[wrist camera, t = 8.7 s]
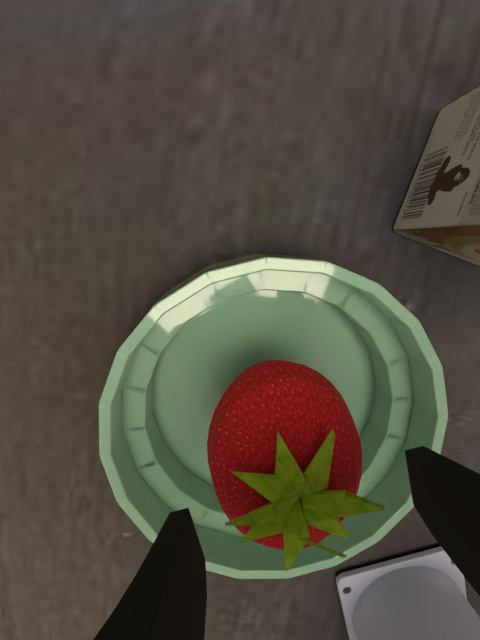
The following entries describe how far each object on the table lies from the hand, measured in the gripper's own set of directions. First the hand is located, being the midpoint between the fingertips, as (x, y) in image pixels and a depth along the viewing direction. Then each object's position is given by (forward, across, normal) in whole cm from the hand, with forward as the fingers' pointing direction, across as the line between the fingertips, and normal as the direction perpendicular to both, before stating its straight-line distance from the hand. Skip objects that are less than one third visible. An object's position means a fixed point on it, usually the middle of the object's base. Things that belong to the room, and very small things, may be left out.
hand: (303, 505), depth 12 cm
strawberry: (+8, 0, 0) cm, 8 cm away
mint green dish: (+9, 0, 0) cm, 9 cm away
